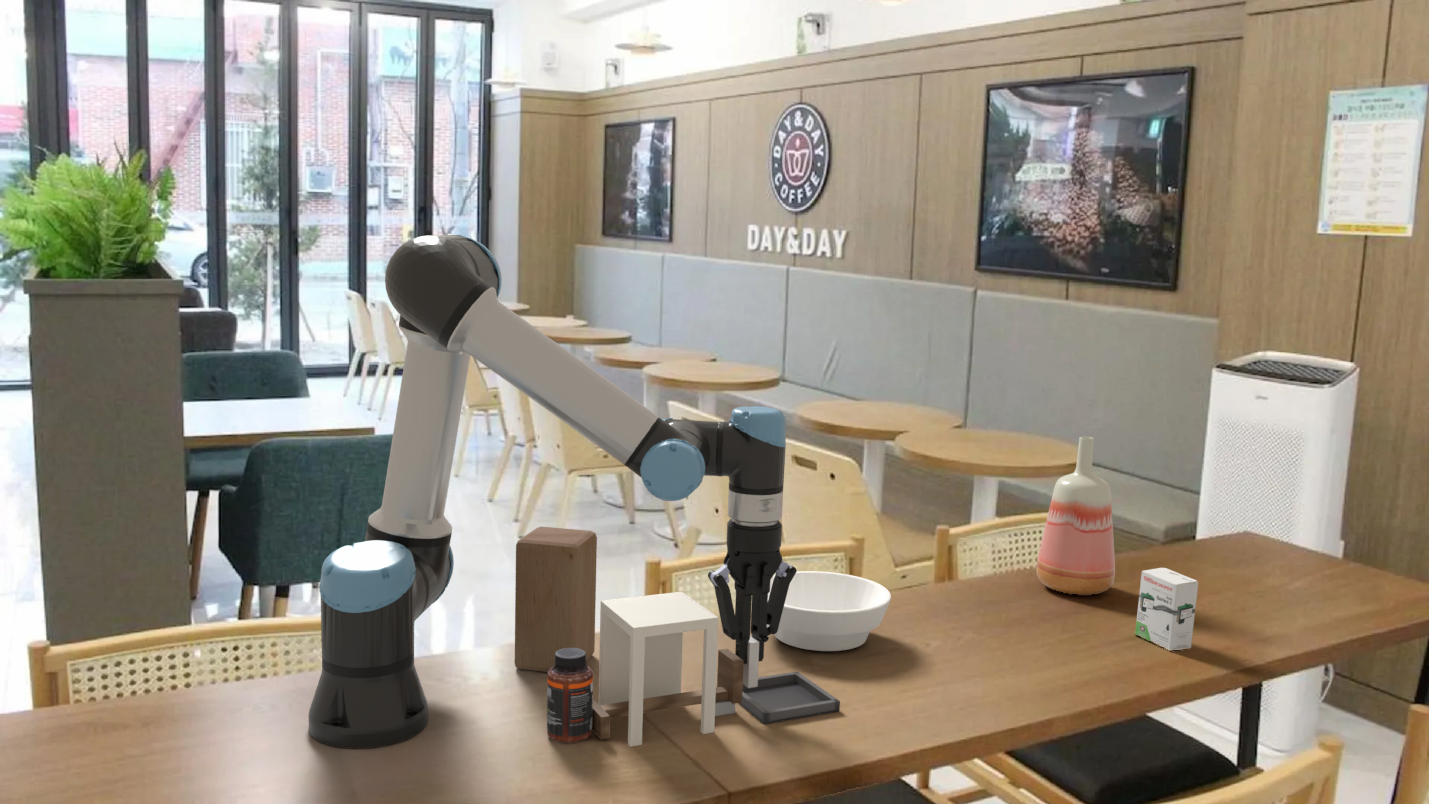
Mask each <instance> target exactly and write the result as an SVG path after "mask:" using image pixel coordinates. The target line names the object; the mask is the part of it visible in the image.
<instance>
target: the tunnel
mask: <svg viewBox="0 0 1429 804" xmlns="http://www.w3.org/2000/svg"><path fill="white" fill-rule="evenodd" d="M599 616H600V618H599V621H600V622H599V625H600V626H599V659H598V660H599V662H598V664H599V665H598V666H599V667H598V668H599V669H598V702H597V703H598V704H599V705H605V704H612V703H619V702H625V701H629V715H628V725H627V745H628V746H629V747H630V748H631V747H637V746H642V745H643V719H644V718H643V717H644V715H643V714H644V713H643V699H645V698H651V697H658V696H664V695H671V694H677V693H682V667H683V666H682V664H683V663H682V662H683V636H684V635H683V633H686V632H687V633H688V632H694V631H702V630H703V645H702V646H703V649H702V650H703V651H702V674H701V675H702V677H701V678H702V680H701V681H702V682H701V690H702V702H701V704H700V705H701V707H700V708H701V709H700V733H701V734H702V735H706V734H713V733H715V717H720V716H725V715H726V716H727V715H731V714H736V703H735V704H732V703H731V702H730V701H729V700H722V701H716V702H715V697H716V688H717V671H718V642H719V641H718V640H719V639H718V637H719V616H717V615H715V614H714V613H713V612H712V611H710V610H708V609H707V608H706V607H704V606H702V604H700V603H698V602H697V601H695V600H694V599H693V598H691V597H689V596H688V595H687V594H686V593H684V592H682V591H676V592H667V593H658V594H657V593H655V594H649V595H647V594H646V595H639V596H631V597H623V598H621V597H619V598H614V599H611V598H610V599H604V600H600V615H599Z"/></svg>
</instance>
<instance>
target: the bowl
mask: <svg viewBox="0 0 1429 804" xmlns="http://www.w3.org/2000/svg"><path fill="white" fill-rule="evenodd" d="M775 575H776V574H774V575H773V577H772V578H771V580H770V592H771V588H772V584H773V580H774V577H775ZM770 592H769V593H768V600H769V596H770ZM891 600H892V595H891V592H890V590H888V589H887V588H886V587H885V586H883V585H882V584H880V583H878V582H876V581H874V580H871V579H867V578H864V577H861V576H856V575H852V574H847V573H840V572H832V571H817V570H814V571H813V570H811V571H810V570H808V571H807V570H805V571H802V570H801V571H800V570H799V571H797V572H796V574H795V576H794V577H793V579H792V581H791V582H790V584H789V588H788V592H787V596H786V600H785V604H784V608H783V612H782V615H781V619H780V623H779V627H778V631H777V633H776V634H773V636H775V638H776V639H778V640H779V641H780V642H781V643H784V644H786V645H788V646H791V647H795V648H799V649H804V650H810V651H816V652H840V651H847V650H852V649H855V648H858V647H860V646H862V645H863V644H865V643H866V642H867V639H868V637H869V634H870V632H871V630H874V629H876V628H878V627H879V626H880V625H881V624H882V621H883V619H884V616H885V614H886V612H887V609H888V607H889V604H890V603H891Z"/></svg>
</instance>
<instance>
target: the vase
mask: <svg viewBox="0 0 1429 804" xmlns="http://www.w3.org/2000/svg"><path fill="white" fill-rule="evenodd" d="M1078 439H1079V440H1078V449H1077V456H1076V466H1075V470H1074V471H1073V472H1072V473H1068V474H1066V475H1063V476H1061V477H1059V478H1058V479H1057V481H1056V482H1055V485H1054V487H1053V491H1052V496H1051V500H1050V504H1049V508H1048V512H1047V516H1046V520H1045V525H1044V528H1043V529H1044V530H1043V534H1042V538H1041V543H1040V547H1039V550H1038V555H1037V560H1036V567H1035V568H1036V572H1035V573H1036V576H1037V578H1038V580H1039V581H1040V582H1041V583H1042V584H1043V585H1044V586H1046V587H1047V588H1048V589H1051V590H1053V591H1055V590H1056V591H1055V592H1058V591H1059V592H1058V593H1061V592H1063V593H1062V594H1066V593H1068V594H1067V595H1072V594H1078V595H1077V596H1093V595H1092V594H1095V595H1098V594H1102V593H1104V592H1106V591H1108V590H1109V589H1110V588H1111V587H1112V586H1113V584H1114V581H1115V578H1116V577H1115V575H1116V573H1115V572H1116V565H1115V564H1116V562H1115V561H1116V560H1115V544H1114V543H1115V542H1114V541H1115V540H1114V525H1113V524H1114V523H1113V504H1112V503H1113V502H1112V501H1113V500H1112V491H1111V490H1112V489H1111V486H1110V485H1109V483H1108V482H1107V481H1106V480H1105V479H1103V478H1101V477H1099V476H1097V475H1096V474H1095V473H1094V472H1093V461H1094V460H1093V459H1094V447H1095V446H1094V445H1095V444H1094V443H1095V438H1094V437H1093V436H1085V435H1084V436H1080V437H1079V438H1078Z"/></svg>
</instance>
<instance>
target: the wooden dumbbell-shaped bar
mask: <svg viewBox="0 0 1429 804" xmlns="http://www.w3.org/2000/svg"><path fill="white" fill-rule="evenodd" d="M743 665H744V661H743V660H742V659H741V658H739V657H738V656H737V655H735V653H734V652H733V651H731V650H730V649H729V648H722V649H717V673H716V697H715V702H716V701H722V700H729V701H730V702H731V703H732V704H735V705H736V704H739V703H741V702H742V690H743ZM701 702H702V689H699V690H691V691H685V692H681V693H677V694H671V695H664V696H658V697H651V698H645V699H643V714H645V713H653V712H657V711H663V710H670V709H679V708H683V707H689V706H696V705H701ZM625 716H626V717H628V716H629V701H625V702H619V703H612V704H605V705H599V704H598V702H597V701H596V699H594V698H593V718H592V732H593V733H594V734H595V735H596V736H597V737H598V738H599V740H605V739H606V740H607V739H610V731H611V729H610V726H611V719H613V718H621V717H625Z"/></svg>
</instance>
